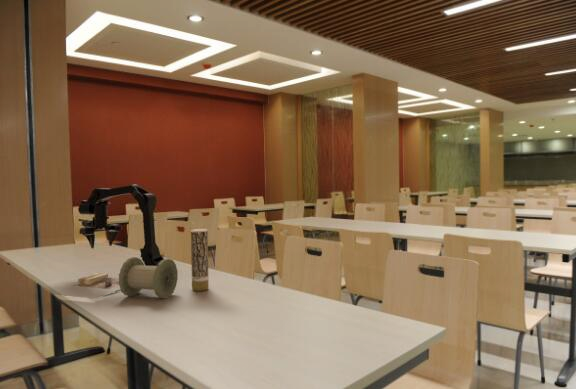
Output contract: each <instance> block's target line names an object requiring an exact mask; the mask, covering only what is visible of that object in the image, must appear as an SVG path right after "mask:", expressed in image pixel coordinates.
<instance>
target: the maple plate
mask: <svg viewBox="0 0 576 389" xmlns="http://www.w3.org/2000/svg"><path fill="white" fill-rule="evenodd" d="M106 277H109V273H101V272H96V273H92V274H90V275H86V276H82V277H78V278H77V283H78V284H82V285H91V284H95V283H98V282H101V281H104V280H105V278H106Z"/></svg>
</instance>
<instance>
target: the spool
mask: <svg viewBox="0 0 576 389" xmlns="http://www.w3.org/2000/svg"><path fill="white" fill-rule="evenodd" d="M119 273H120V274H119ZM119 273H118V279H119V285H118V286H119V288H120V291H121V293H123V295H124V296H128V297H133V296H136V295H138V294H139V293H140V292H141V291H142V290H152V291H154V293H155V295H156V296H157V298H159V299H165V300H166V299H168V298H170V297H172V295H173V294H174V291H175V290H176V287H177V283H178V279H179V278H178V268H177V264H176V262H175V261H174V260H173V259H170V258H164V260H161V261H160V263H159V264H158V265H157V266H145V264H144V261H142V258H139V257H137V256H136V257H135V256H134V257H129V258H127V259H126V260H125V261H124V262H123V264H122V266H121V268H120V270H119Z"/></svg>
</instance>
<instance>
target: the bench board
mask: <svg viewBox="0 0 576 389" xmlns="http://www.w3.org/2000/svg"><path fill="white" fill-rule="evenodd" d="M119 274H120V272H119V273H118V275H119ZM71 286H77V287H85V288H86V287H89V288H98V289H111V288H113V287H116V286H119V278H112V276H108V277H106V278H105V280H104V281H101V282H98V283H95V284H91V285H82V284H78V282H76V283H73V284H71Z"/></svg>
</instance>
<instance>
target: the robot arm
mask: <svg viewBox="0 0 576 389" xmlns="http://www.w3.org/2000/svg"><path fill="white" fill-rule="evenodd" d="M90 193H91V194H90V196H89V197H88V199H87V200H86V199H85V200H80V201H81V202H80V203H79V206H78V209H77V210H78V213H79V214H80V215H93V217H92V220H90V219H85V220H84V221H83V226H84V227H80V228H79V234H80V235H82V236H84V237H85V238H86V239H87V241H88V243H89V246H90V248H91V249H94V248H95V236H96V235H95V234H94V233H95V232H105V231H107V233H108V246H109V247H112V245H113V244H114V241H115V239H116V237H117V235H118V234H119V233H120V231H122V229H123V228H122V227H123V226H122V225H121V224H117V223H115V224H108V220H109V219H110V216H108V206H111V205H112V203H111V202H109V200H110V199H111V198H114V197H118V196H123V195H129V194H130V195H131V196H132V197H133V199H134V200H135V201H137V205H138V208H139V209H140V211H141V214H142V224H143V227H142V228H143V238H144V239H143V240H144V245H143V247H141V248H140V249H139V252H140V258H141V260H142V262H143V263H144V266H157V265H158V264H159V263H160V261H161V260H164V259H165V258H164V257H163V255H161V253H160V252H161V251H160V248H159V246H158V245H157V242H156V232H155V229H156V227H155V218H154V217H155V215H154V213H155V209H156V207H157V196H156V195H154V194H153V193H150V191H148V190H146V189H144V188H143V187H141V186H140V185H138V184H129V185H126V186H125V185H124V186H119V187H114V188H113V187H112V188H105V187H104V188H103V187H102V188H94V189H92V191H91V192H90Z"/></svg>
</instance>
